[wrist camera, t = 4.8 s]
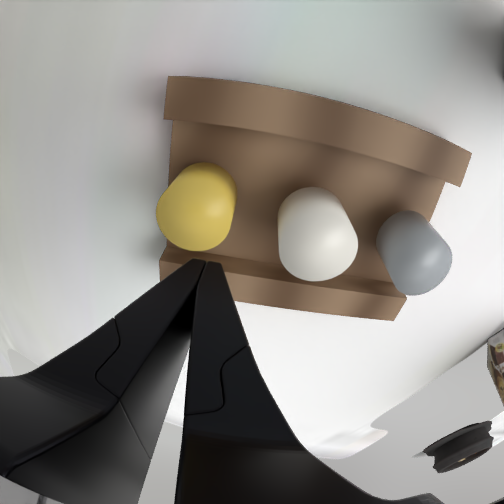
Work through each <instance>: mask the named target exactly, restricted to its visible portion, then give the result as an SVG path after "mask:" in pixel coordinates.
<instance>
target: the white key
mask: <svg viewBox="0 0 504 504" xmlns="http://www.w3.org/2000/svg"><path fill="white" fill-rule="evenodd" d="M278 242H279V256H280V259H281V262H282V264H283V266H284V267H285V268H286V269H287V271H288V272H290V273H291V274H292V275H294V276H295V277H297V278H300V279H303V280H307V281H324V280H328V279H331V278H334V277H336V276H338V275H340V274H341V273H343V272H344V271H345V270H346V269H347V268H348V267H349V266H350V265H351V264H352V262H353V261H354V259H355V257H356V254H357V250H358V239H357V235H356V233H355V231H354V229H353V226H352V224H351V222H350V220H349V218H348V216H347V214H346V212H345V210H344V208H343V206H342V204H341V202H340V201H339V199H338V198H337V197H336V196H335V195H334V194H333V193H331V192H330V191H328V190H325V189H323V188H319V187H306V188H302V189H299V190H297V191H295V192H293V193H291V194H290V195H289V196H288V197H287V198H286V199H285V200H284V201H283V203H282V204H281V206H280V208H279V211H278Z"/></svg>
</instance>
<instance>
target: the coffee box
mask: <svg viewBox="0 0 504 504" xmlns="http://www.w3.org/2000/svg"><path fill="white" fill-rule="evenodd" d="M487 345H488V356H487V359H488V360H487V367H488V370H489V372H490V374H491V377H492V379H493V381H494V384H495V386H496V389H497V391H498V393H499V395H500V398H501V401H502V403H503V406H504V329H503V330H502V331H500V332H499V333H497V334H496V335H494V336H492V337H491V338H489V339H488V343H487Z"/></svg>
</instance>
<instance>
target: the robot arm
mask: <svg viewBox="0 0 504 504" xmlns="http://www.w3.org/2000/svg"><path fill="white" fill-rule="evenodd" d="M114 318H115V319H114ZM114 318H112V319H110V320H109V321H108V322H106V323H105V324H104V325H102V326H101V327H100V328H98V329H97V330H96V331H94V332H93V333H92V334H90V335H89V336H87V337H86V338H84V339H83V340H81V341H80V342H78V343H77V344H75V345H74V346H72V347H70V348H69V349H67V350H66V351H64V352H62V353H61V354H59V355H58V356H56V357H54V358H53V359H51V360H50V361H48V362H46V363H45V364H43V365H42V366H40V367H39V368H37V369H35V370H33V371H31V372H29V373H26V374H23V375H19V376H12V377H0V504H138V501H139V497H140V494H141V491H142V488H143V484H144V481H145V478H146V475H147V472H148V468H149V465H150V462H151V459H152V456H153V453H154V449H155V447H156V443H157V440H158V437H159V434H160V431H161V428H162V425H163V422H164V419H165V416H166V413H167V410H168V407H169V404H170V401H171V399H172V396H173V393H174V390H175V387H176V384H177V381H178V378H179V375H180V372H181V370H182V367H183V364H184V361H185V358H186V355H187V352H188V350H189V359H188V370H187V382H186V394H185V407H184V421H183V434H182V444H181V451H180V459H179V467H178V475H177V484H176V493H175V502H174V504H444V503H443V502H441V501H440V500H439V499H438V498H436V497H435V496H434V495H432V494H431V493H427V494H421V495H417V496H413V497H409V498H405V499H400V500H385V499H381V498H378V497H374V496H372V495H370V494H368V493H367V492H365V491H363V490H362V489H360V488H359V487H357V486H356V485H354V484H353V483H351V482H350V481H348V480H347V479H345V478H344V477H342V476H341V475H340V474H338V473H337V472H335V471H334V470H333V469H331V468H330V467H328V466H327V465H326V464H324V463H323V462H322V461H320V460H319V459H318V458H316V457H315V456H314V455H312V454H311V453H310V452H309V451H308V450H307V449H306V448H305V447H304V446H303V445H302V444H301V443H300V441H299V440H298V439H297V437H296V436H295V434H294V433H293V431H292V429H291V428H290V426H289V424H288V423H287V421H286V419H285V418H284V416H283V414H282V412H281V411H280V409H279V407H278V405H277V404H276V402H275V400H274V398H273V396H272V395H271V393H270V391H269V389H268V387H267V385H266V383H265V381H264V379H263V377H262V375H261V373H260V371H259V369H258V366H257V364H256V361H255V359H254V356H253V354H252V351H251V348H250V346H249V343H248V340H247V337H246V334H245V331H244V329H243V326H242V323H241V320H240V317H239V314H238V311H237V308H236V305H235V302H234V299H233V297H232V294H231V291H230V288H229V285H228V282H227V279H226V276H225V273H224V270H223V267H222V264H221V263H220V262H215V261H207V262H206V260H203V259H198V258H192V259H190V260H189V261H187V262H186V263H185V264H183V265H182V266H181V267H179V268H178V269H177V270H175V271H174V272H172V273H171V274H170V275H168V276H167V277H166V278H164V279H163V280H162V281H160V282H159V283H158V284H156V285H155V286H154V287H152V288H151V289H150V290H148V291H147V292H146V293H144V294H143V295H142V296H140V297H139V298H138V299H136V300H135V301H134V302H133V303H131V304H130V305H129V306H127V307H126V308H125V309H123V310H122V311H121V312H119V313H118V314H117V315H116V316H115V317H114ZM189 347H190V349H189ZM490 504H504V497H503V498H501V499H499V500H497V501H495V502H492V503H490Z"/></svg>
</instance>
